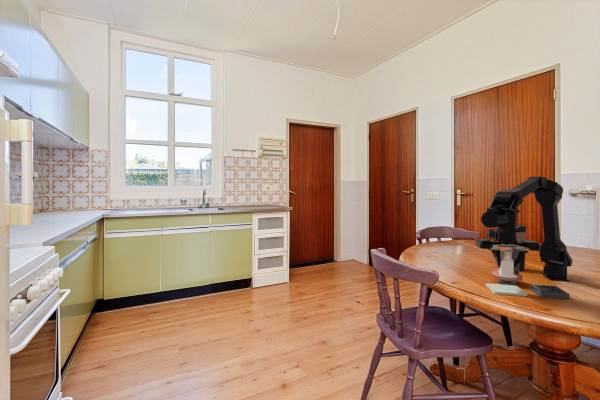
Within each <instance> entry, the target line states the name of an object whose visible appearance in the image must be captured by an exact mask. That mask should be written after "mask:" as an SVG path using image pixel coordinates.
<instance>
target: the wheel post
mask: <svg viewBox="0 0 600 400" xmlns="http://www.w3.org/2000/svg"><path fill="white" fill-rule="evenodd" d="M496 282H497V283H498V284H501V285H515V286H516V284H517V281H508V280H502V279H498V278H497V281H496Z"/></svg>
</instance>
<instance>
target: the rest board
mask: <svg viewBox="0 0 600 400" xmlns="http://www.w3.org/2000/svg"><path fill="white" fill-rule="evenodd" d="M485 286H486V287H487V288H488V289H489V290H490V291H491V292H492V293H493V294H494V295H503V296H504V295H505V296H516V297H517V296H518V297H528V293H526V292H525V291H524V290H522V289H521V288H520V287H519V286H517V285H516V284H515V285H507V284H502V283H498V284H497V283H485Z"/></svg>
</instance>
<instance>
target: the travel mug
mask: <svg viewBox="0 0 600 400" xmlns="http://www.w3.org/2000/svg"><path fill="white" fill-rule="evenodd" d="M517 229H518V232H517V241H518V242H521V240H527V235H526V234H527V230H526V229H527V226H526V225H522V224H517ZM513 248H515V247H504V250H511V251H512V259H513ZM518 264H519V272H523V271H525V265H526V253H525V254H524V256H523V257H522V258H521V259H520V261H519V263H518Z"/></svg>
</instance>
